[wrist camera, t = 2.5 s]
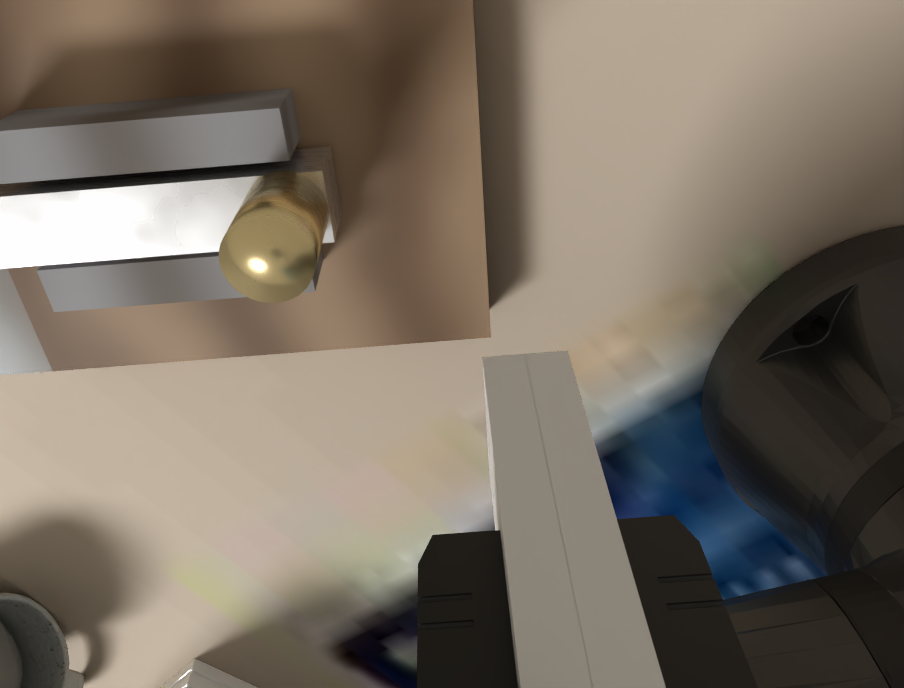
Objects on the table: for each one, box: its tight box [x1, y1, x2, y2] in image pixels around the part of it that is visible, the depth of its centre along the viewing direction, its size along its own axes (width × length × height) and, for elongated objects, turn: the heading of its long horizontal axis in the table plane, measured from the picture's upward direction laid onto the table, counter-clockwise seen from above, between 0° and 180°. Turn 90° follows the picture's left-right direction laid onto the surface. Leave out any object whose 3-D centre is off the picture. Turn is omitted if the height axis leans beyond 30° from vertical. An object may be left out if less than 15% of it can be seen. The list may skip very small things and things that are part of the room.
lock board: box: [0, 0, 491, 375], centre depth 24 cm, size 28×14×8 cm, turn 94°
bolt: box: [0, 146, 342, 303], centre depth 23 cm, size 12×3×6 cm, turn 94°
